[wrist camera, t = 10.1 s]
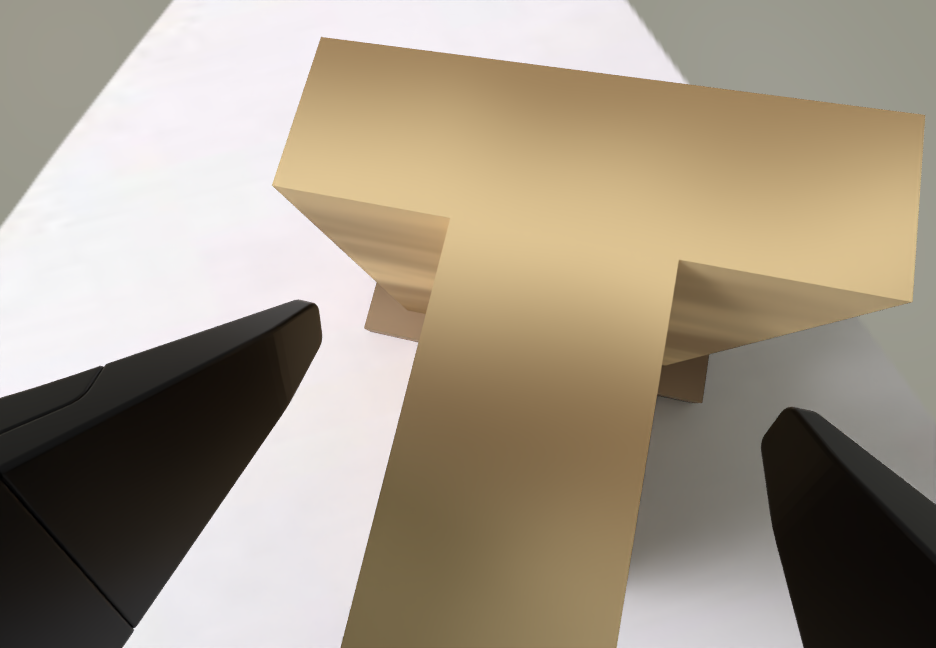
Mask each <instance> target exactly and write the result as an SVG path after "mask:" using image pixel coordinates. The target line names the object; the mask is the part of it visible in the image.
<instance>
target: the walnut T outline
mask: <svg viewBox="0 0 936 648" xmlns="http://www.w3.org/2000/svg"><path fill="white" fill-rule="evenodd" d="M425 315H426V314H422V313H418V312H413V311H408V310H406V309H405V308H404V307H403V306H402V305H401V304H400V303H399V302H398V301H397V300H396V299H394V298H393V297H392V296H391V295H390V294H389V293H388V292H387V291H386V290H385V289H384V288H383V287H381V286H380V285H379V284H378V283H376V287H375V290H374V294H373V298H372V301H371V305H370V309H369V312H368V316H367V319H366V323H365V327H364V328H365V329H367V330H368V331H370V332H375V333H379V334H384V335H388V336H393V337H397V338H402V339H406V340H411V341H415V342H419V339H420V335H421V331H422V327H423V323H424V319H425ZM708 359H709V354H708V355H704V356H700V357H696V358H692V359H689V360H685V361H681V362H677V363H673V364H669V365H665V366H664V365H662V368H661V374H660V380H659V386H658V393H657V395H659V396H663V397H668V398H672V399H677V400H681V401H686V402H690V403H702V401H703V394H704V387H705V380H706V373H707V366H708Z"/></svg>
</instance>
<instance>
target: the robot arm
mask: <svg viewBox="0 0 936 648" xmlns="http://www.w3.org/2000/svg"><path fill="white" fill-rule="evenodd" d="M321 342H322V330H321V322H320V314H319V308H318V306H317V305H316V304H315V303H312V302H307V301H303V300H294V301H291V302H288V303H285V304H282V305H279V306H276V307H273V308H270V309H267V310H264V311H261V312H258V313H255V314H252V315H249V316H246V317H243V318H241V319H238V320H235V321H232V322H229V323H226V324H223V325H220V326H217V327H214V328H211V329H208V330H205V331H202V332H199V333H196V334H193V335H190V336H187V337H185V338H182V339H179V340H176V341H173V342H170V343H167V344H164V345H161V346H158V347H155V348H152V349H149V350H146V351H143V352H140V353H137V354H134V355H131V356H128V357H126V358H123V359H120V360H117V361H114V362H111V363H108V364H106V365H105V366H104V367H103V366H99V367H96V368H93V369H90V370H87V371H84V372H81V373H78V374H75V375H72V376H69V377H66V378H63V379H60V380H57V381H54V382H51V383H48V384H44V385H41V386H38V387H35V388H32V389H28V390H25V391H22V392H18V393H15V394H12V395H8V396H5V397H2V398H0V648H123V646H124V645H125V643H126V642H127V640H128V639H129V637H130V636H131V634H132V633H133V631H134V629H133V628H135V627H136V626H137V625H138V624H139V622H140V621H141V619H142V618H143V616H144V615H145V613H146V612H147V611H148V609H149V608H150V606H151V605H152V603H153V602H154V600H155V599H156V597H157V596H158V595H159V593H160V592H161V590H162V589H163V587H164V586H165V584H166V583H167V581H168V580H169V579H170V577H171V576H172V574H173V573H174V571H175V570H176V568H177V567H178V565H179V564H180V563H181V561H182V560H183V558H184V557H185V555H186V554H187V552H188V551H189V549H190V548H191V547H192V545H193V544H194V542H195V541H196V539H197V538H198V536H199V535H200V533H201V532H202V531H203V529H204V528H205V526H206V525H207V523H208V522H209V520H210V519H211V517H212V516H213V515H214V513H215V512H216V510H217V509H218V507H219V506H220V504H221V503H222V501H223V500H224V499H225V497H226V496H227V494H228V493H229V491H230V490H231V488H232V487H233V485H234V484H235V483H236V481H237V480H238V478H239V477H240V475H241V474H242V472H243V471H244V469H245V468H246V467H247V465H248V464H249V462H250V461H251V459H252V458H253V456H254V455H255V453H256V452H257V451H258V449H259V448H260V446H261V445H262V443H263V442H264V440H265V439H266V437H267V436H268V435H269V433H270V432H271V430H272V429H273V427H274V426H275V424H276V423H277V421H278V420H279V419H280V417H281V416H282V414H283V413H284V411H285V410H286V408H287V406H288V405H289V403H290V401H291V400H292V398H293V396H294V394H295V392H296V391H297V389H298V387H299V385H300V383H301V381H302V379H303V377H304V376H305V374H306V372H307V370H308V368H309V366H310V364H311V362H312V361H313V359H314V357H315V355H316V353H317V351H318V349H319V347H320V345H321ZM761 452H762V459H763V466H764V473H765V481H766V488H767V495H768V502H769V509H770V516H771V521H772V527H773V531H774V536H775V540H776V544H777V548H778V552H779V556H780V559H781V563H782V567H783V571H784V575H785V578H786V582H787V586H788V590H789V594H790V598H791V601H792V605H793V609H794V613H795V617H796V620H797V624H798V628H799V632H800V636H801V640H802V643H803V647H804V648H936V505H935V504H934V503H933V502H932V501H930V500H929V499H928V498H926V497H925V496H924V495H923V494H921V493H920V492H919V491H917V490H916V489H915V488H913V487H912V486H911V485H910V484H908V483H907V482H906V481H904V480H903V479H902V478H901V477H899V476H898V475H897V474H895V473H894V472H893V471H891V470H890V469H889V468H888V467H886V466H885V465H884V464H882V463H881V462H880V461H879V460H877V459H876V458H875V457H873V456H872V455H871V454H869V453H868V452H867V451H866V450H864V449H863V448H862V447H860V446H859V445H858V444H857V443H855V442H854V441H853V440H851V439H850V438H849V437H847V436H846V435H845V434H844V433H842V432H841V431H840V430H838V429H837V428H836V427H835V426H833V425H832V424H831V423H829V422H828V421H827V420H825V419H824V418H823V417H822V416H820V415H819V414H817V413H816V412H813V411H809V410H805V409H800V408H796V407H788V408H786V409H784V410H783V411H782V412H781V414H780V415H779V416H778V418H777V419H776V420H775V422H774V423H773V424H772V426H771V427H770V428H769V430H768V431H767V432H766V434H765V435H764V437H763V439H762V443H761Z"/></svg>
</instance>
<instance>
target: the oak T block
mask: <svg viewBox="0 0 936 648" xmlns="http://www.w3.org/2000/svg"><path fill="white" fill-rule="evenodd" d="M924 125H925V115H921V114H912V113H905V112H897V111H889V110H882V109H873V108H866V107H859V106H850V105H843V104H835V103H827V102H820V101H812V100H804V99H797V98H789V97H781V96H773V95H766V94H757V93H750V92H742V91H734V90H727V89H718V88H711V87H704V86H696V85H688V84H681V83H673V82H665V81H657V80H650V79H642V78H634V77H626V76H619V75H611V74H603V73H595V72H588V71H580V70H572V69H564V68H557V67H549V66H541V65H533V64H526V63H518V62H510V61H502V60H495V59H487V58H479V57H471V56H464V55H456V54H448V53H441V52H433V51H425V50H417V49H410V48H402V47H394V46H386V45H379V44H371V43H363V42H355V41H348V40H340V39H332V38H324V37H321V39H320V42H319V45H318V48H317V51H316V54H315V57H314V60H313V63H312V66H311V69H310V72H309V75H308V78H307V81H306V84H305V87H304V90H303V93H302V96H301V99H300V102H299V105H298V108H297V111H296V114H295V117H294V120H293V123H292V126H291V129H290V133H289V136H288V139H287V142H286V145H285V148H284V151H283V154H282V157H281V160H280V163H279V166H278V169H277V172H276V175H275V178H274V181H273V184H272V186H273V187H274V188H275V189H276V190H278V191H279V192H280V193H281V194H282V195H283V196H284V197H285V198H286V199H287V200H288V201H289V202H291V203H292V204H293V205H294V206H295V207H296V208H297V209H298V210H299V211H300V212H301V213H302V214H303V215H305V216H306V217H307V218H308V219H309V220H310V221H311V222H312V223H313V224H314V225H315V226H316V227H318V228H319V229H320V230H321V231H322V232H323V233H324V234H325V235H326V236H327V237H328V238H329V239H331V240H332V241H333V242H334V243H335V244H336V245H337V246H338V247H339V248H340V249H341V250H342V251H344V252H345V253H346V254H347V255H348V256H349V257H350V258H351V259H352V260H353V261H354V262H355V263H357V264H358V265H359V266H360V267H361V268H362V269H363V270H364V271H365V272H366V273H367V274H368V275H370V276H371V277H372V278H373V279H374V280H375V281H376V282H377V283H378V284H379V285H380V286H381V287H383V288H384V289H385V290H386V291H387V292H388V293H389V294H390V295H391V296H392V297H393V298H394V299H396V300H397V301H398V302H399V303H400V304H401V305H402V306H403V307H404V308H405V309H406V310H408V311H413V312H418V313H422V314H426V315H425V319H424V323H423V327H422V331H421V335H420V339H419V343H418V347H417V350H416V354H415V358H414V362H413V366H412V370H411V374H410V378H409V382H408V386H407V390H406V394H405V398H404V401H403V405H402V409H401V413H400V417H399V421H398V425H397V429H396V433H395V437H394V441H393V445H392V448H391V452H390V456H389V460H388V464H387V468H386V472H385V476H384V480H383V484H382V488H381V492H380V495H379V499H378V503H377V507H376V511H375V515H374V519H373V523H372V527H371V531H370V535H369V539H368V543H367V546H366V550H365V554H364V558H363V562H362V566H361V570H360V574H359V578H358V582H357V586H356V590H355V593H354V597H353V601H352V605H351V609H350V613H349V617H348V621H347V625H346V629H345V633H344V637H343V640H342V644H341V648H616V647H617V641H618V635H619V629H620V622H621V616H622V610H623V604H624V598H625V591H626V585H627V579H628V573H629V566H630V560H631V554H632V548H633V542H634V535H635V529H636V523H637V517H638V511H639V504H640V498H641V492H642V486H643V480H644V473H645V467H646V461H647V455H648V448H649V442H650V436H651V430H652V424H653V417H654V411H655V405H656V399H657V393H658V386H659V380H660V374H661V368H662V365H664V366H665V365H669V364H673V363H677V362H681V361H685V360H689V359H692V358H696V357H700V356H704V355H708V354H712V353H716V352H720V351H724V350H728V349H731V348H735V347H739V346H743V345H747V344H751V343H755V342H759V341H763V340H767V339H770V338H774V337H778V336H782V335H786V334H790V333H794V332H798V331H802V330H805V329H809V328H813V327H817V326H821V325H825V324H829V323H833V322H837V321H841V320H844V319H848V318H852V317H856V316H860V315H864V314H868V313H872V312H876V311H879V310H883V309H887V308H891V307H895V306H899V305H903V304H907V303H911V302H912V301H913V285H914V271H915V256H916V242H917V226H918V213H919V198H920V183H921V169H922V168H921V167H922V154H923V138H924Z"/></svg>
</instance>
